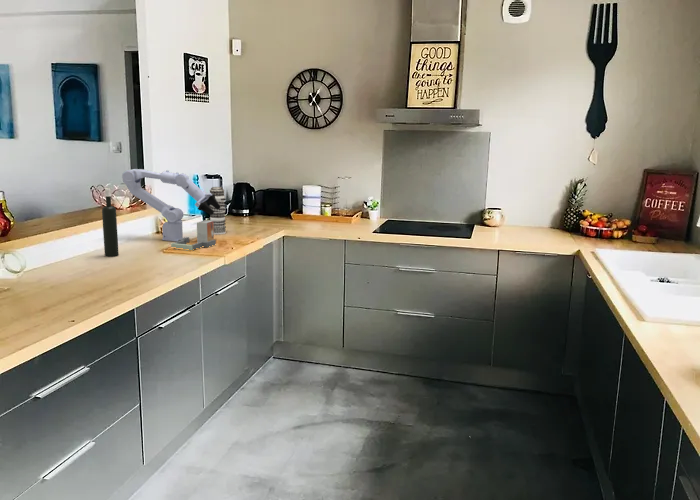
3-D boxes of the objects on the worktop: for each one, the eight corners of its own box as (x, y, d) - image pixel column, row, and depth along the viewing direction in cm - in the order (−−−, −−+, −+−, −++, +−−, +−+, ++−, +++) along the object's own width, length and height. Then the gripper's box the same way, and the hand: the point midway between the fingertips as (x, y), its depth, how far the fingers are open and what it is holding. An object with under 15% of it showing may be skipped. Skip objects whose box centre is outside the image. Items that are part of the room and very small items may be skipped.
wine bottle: (105, 257, 260) (101, 189, 254) (104, 254, 265) (99, 187, 259) (119, 256, 263) (115, 189, 257) (117, 253, 268) (113, 187, 262)
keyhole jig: (166, 248, 282) (166, 243, 281) (187, 241, 297) (187, 237, 297) (196, 251, 277) (196, 246, 276) (215, 244, 292) (215, 239, 292)
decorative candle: (222, 230, 329) (221, 186, 324) (229, 233, 322) (228, 187, 317) (206, 232, 324) (205, 186, 319) (212, 235, 317) (211, 188, 312)
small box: (207, 243, 294) (206, 223, 292) (197, 243, 295) (196, 222, 293) (214, 240, 302) (213, 220, 300) (204, 240, 303) (203, 219, 301)
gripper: (193, 191, 288) (214, 211, 290) (206, 182, 301) (226, 200, 303) (185, 201, 291) (206, 220, 293) (199, 191, 304) (219, 209, 306)
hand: (216, 211), depth 298 cm, fingers open, 7 cm apart
